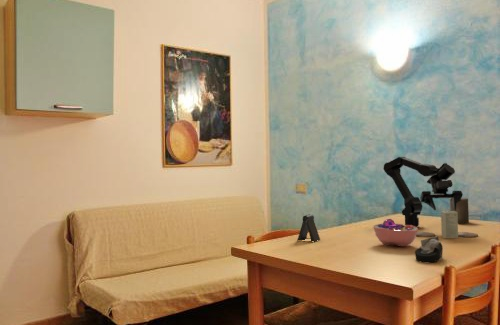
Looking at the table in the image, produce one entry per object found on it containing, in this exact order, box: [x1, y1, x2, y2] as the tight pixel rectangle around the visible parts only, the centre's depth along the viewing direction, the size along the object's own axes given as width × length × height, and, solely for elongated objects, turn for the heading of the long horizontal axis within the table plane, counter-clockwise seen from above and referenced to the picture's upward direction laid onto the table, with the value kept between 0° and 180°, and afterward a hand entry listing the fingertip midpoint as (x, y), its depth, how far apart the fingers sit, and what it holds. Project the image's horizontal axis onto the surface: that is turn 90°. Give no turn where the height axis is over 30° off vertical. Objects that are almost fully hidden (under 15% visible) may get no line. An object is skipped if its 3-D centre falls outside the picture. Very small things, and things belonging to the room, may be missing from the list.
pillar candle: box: [448, 197, 470, 225], centre depth 243 cm, size 10×10×15 cm
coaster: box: [416, 231, 436, 238], centre depth 209 cm, size 11×11×1 cm
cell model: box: [372, 218, 419, 247], centre depth 186 cm, size 17×20×11 cm
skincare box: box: [440, 210, 459, 239], centre depth 201 cm, size 6×4×12 cm
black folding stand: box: [297, 213, 321, 242], centre depth 202 cm, size 9×6×12 cm, turn 55°
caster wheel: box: [414, 235, 444, 264], centre depth 160 cm, size 7×12×10 cm
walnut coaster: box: [458, 231, 479, 239], centre depth 205 cm, size 11×11×1 cm
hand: (445, 209), depth 207 cm, fingers open, 9 cm apart
